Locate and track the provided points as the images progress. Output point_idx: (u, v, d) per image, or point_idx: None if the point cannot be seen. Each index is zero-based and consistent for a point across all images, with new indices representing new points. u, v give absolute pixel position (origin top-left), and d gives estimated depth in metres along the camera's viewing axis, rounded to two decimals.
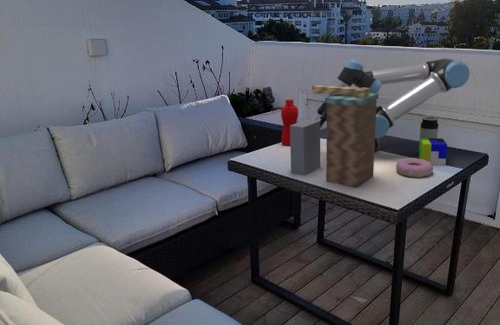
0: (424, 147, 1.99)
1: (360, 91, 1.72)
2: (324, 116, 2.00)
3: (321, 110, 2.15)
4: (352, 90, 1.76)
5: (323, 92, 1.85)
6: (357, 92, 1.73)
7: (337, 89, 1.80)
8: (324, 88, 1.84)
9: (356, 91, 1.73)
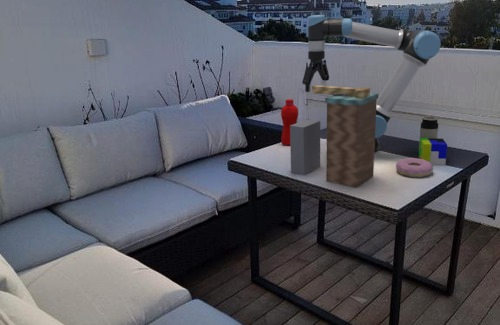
0: (424, 147, 1.99)
1: (360, 91, 1.72)
2: (303, 81, 1.99)
3: (321, 76, 2.10)
4: (352, 90, 1.76)
5: (323, 92, 1.85)
6: (357, 92, 1.73)
7: (337, 89, 1.80)
8: (324, 88, 1.84)
9: (356, 91, 1.73)
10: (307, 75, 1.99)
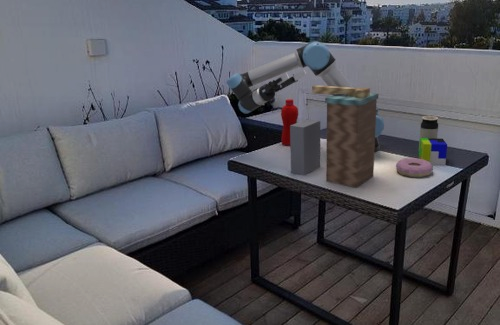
0: (424, 147, 1.99)
1: (360, 91, 1.72)
2: (270, 87, 1.92)
3: (289, 81, 2.03)
4: (352, 90, 1.76)
5: (323, 92, 1.85)
6: (357, 92, 1.73)
7: (337, 89, 1.80)
8: (324, 88, 1.84)
9: (356, 91, 1.73)
10: (267, 86, 1.94)
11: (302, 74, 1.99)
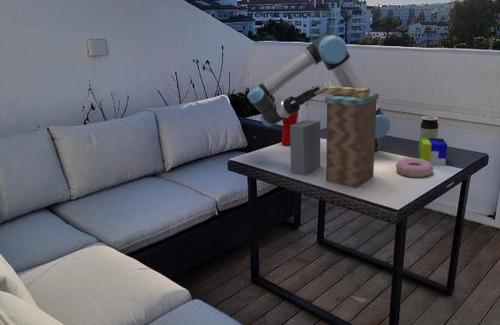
0: (424, 147, 1.99)
1: (360, 91, 1.72)
2: (307, 96, 1.86)
3: None
4: (352, 90, 1.76)
5: (323, 92, 1.85)
6: (357, 92, 1.73)
7: (337, 89, 1.80)
8: None
9: (356, 91, 1.73)
10: (301, 95, 1.88)
11: None
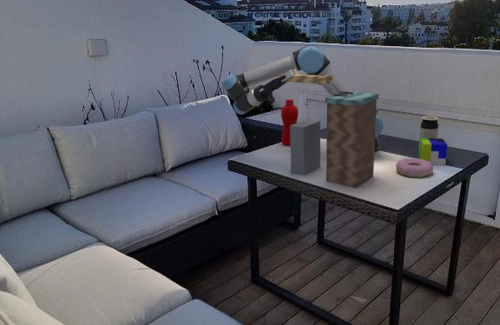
0: (424, 147, 1.99)
1: (322, 78, 1.81)
2: (274, 84, 1.95)
3: (281, 82, 2.01)
4: (315, 77, 1.85)
5: (290, 80, 1.94)
6: (319, 79, 1.82)
7: (302, 77, 1.89)
8: None
9: (318, 78, 1.82)
10: (269, 83, 1.97)
11: None
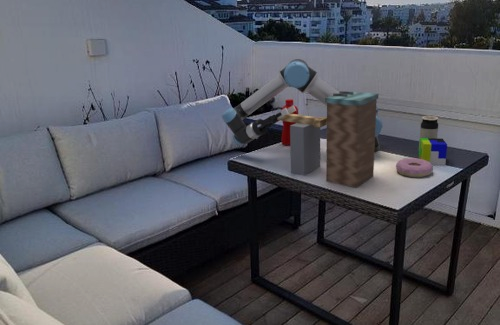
0: (424, 147, 1.99)
1: (318, 121, 1.88)
2: (270, 121, 2.01)
3: None
4: (312, 119, 1.92)
5: (287, 119, 2.01)
6: (316, 122, 1.89)
7: (299, 117, 1.96)
8: (288, 116, 2.00)
9: (314, 120, 1.89)
10: (265, 120, 2.03)
11: (292, 110, 2.03)
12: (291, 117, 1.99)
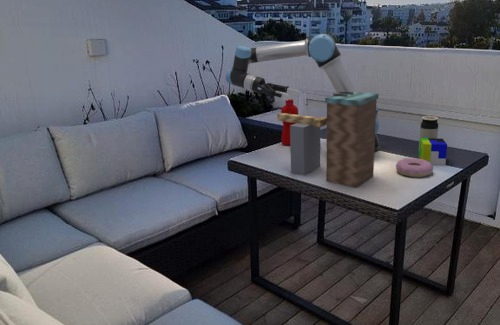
0: (424, 147, 1.99)
1: (318, 121, 1.88)
2: (268, 95, 2.03)
3: (282, 90, 2.16)
4: (312, 119, 1.92)
5: (287, 120, 2.01)
6: (316, 121, 1.89)
7: (299, 118, 1.96)
8: (287, 116, 2.00)
9: (314, 120, 1.89)
10: (266, 90, 2.05)
11: (295, 94, 2.15)
12: (291, 117, 1.99)
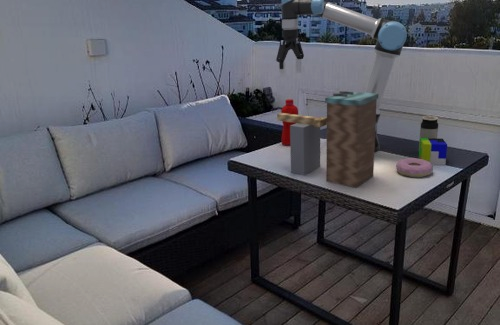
0: (424, 147, 1.99)
1: (318, 121, 1.88)
2: (276, 58, 2.06)
3: (296, 54, 2.17)
4: (312, 119, 1.92)
5: (287, 120, 2.01)
6: (316, 121, 1.89)
7: (299, 118, 1.96)
8: (287, 116, 2.00)
9: (314, 120, 1.89)
10: (280, 53, 2.05)
11: (297, 69, 2.20)
12: (291, 117, 1.99)
